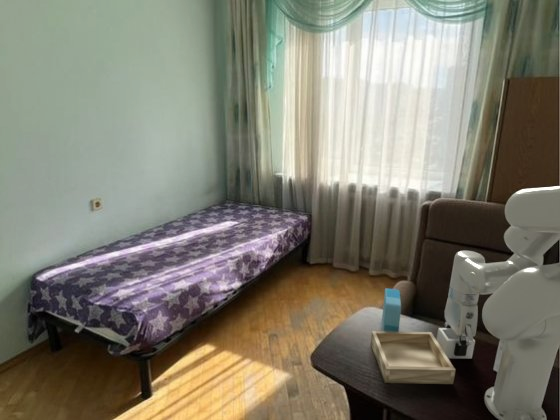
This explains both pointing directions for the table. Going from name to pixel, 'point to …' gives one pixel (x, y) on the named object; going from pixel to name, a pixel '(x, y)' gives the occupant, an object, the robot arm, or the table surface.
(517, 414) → the robot arm
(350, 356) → the table surface
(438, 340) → the white open box
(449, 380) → the wooden tray
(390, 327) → the data package
